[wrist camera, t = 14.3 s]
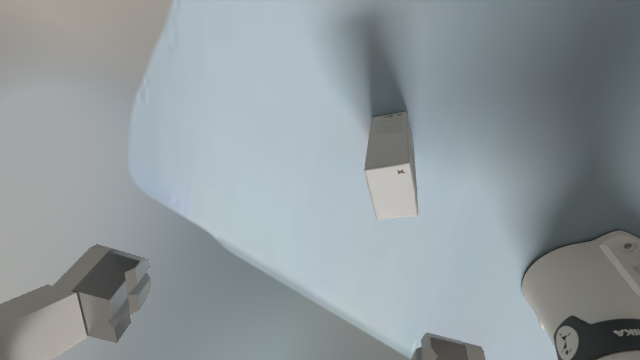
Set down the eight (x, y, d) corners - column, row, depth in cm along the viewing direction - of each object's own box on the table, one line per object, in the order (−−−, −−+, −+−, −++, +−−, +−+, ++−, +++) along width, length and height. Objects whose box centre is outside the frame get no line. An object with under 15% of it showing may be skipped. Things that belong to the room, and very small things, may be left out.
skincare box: (370, 116, 45) (362, 168, 35) (407, 109, 44) (410, 161, 34) (379, 162, 48) (375, 221, 38) (415, 156, 47) (420, 216, 37)
